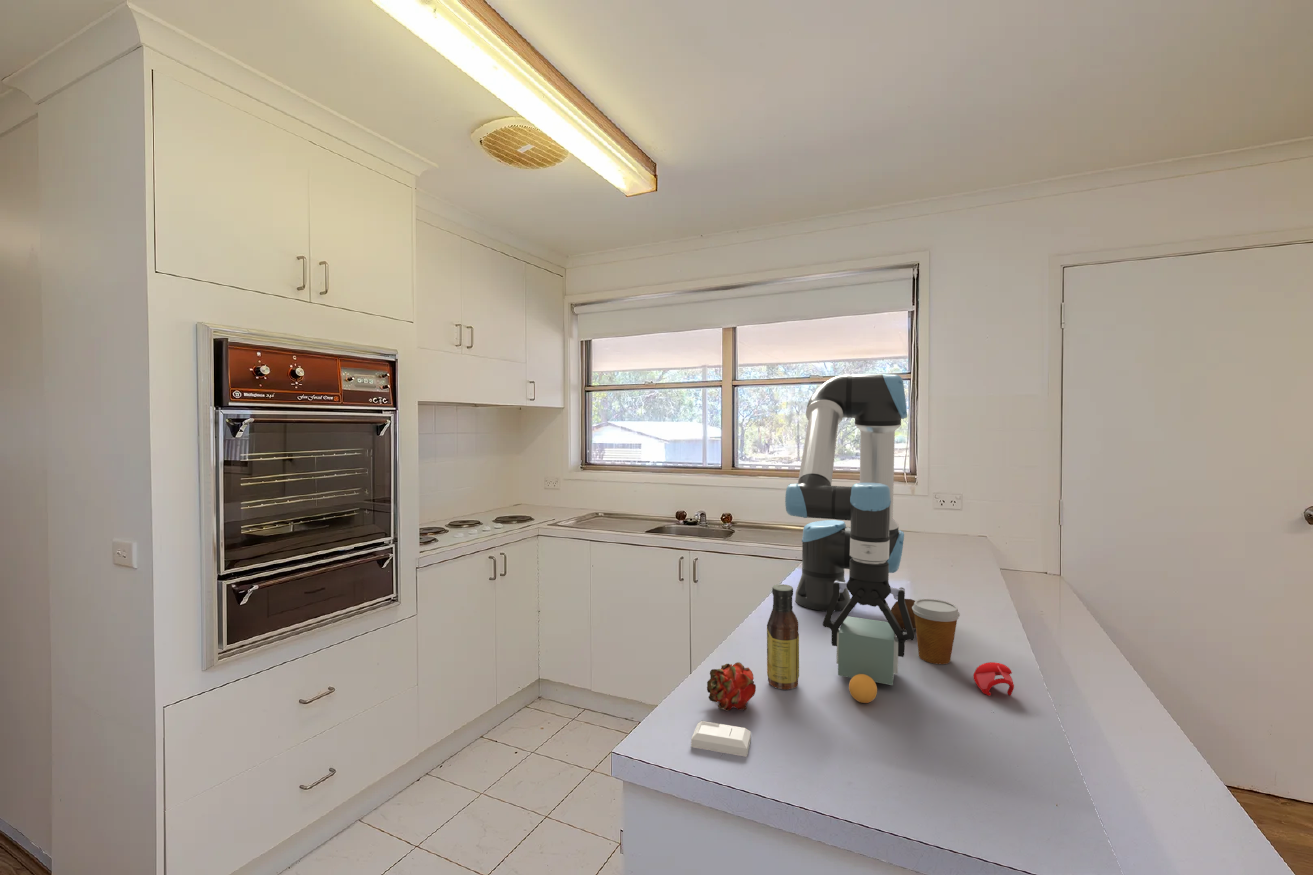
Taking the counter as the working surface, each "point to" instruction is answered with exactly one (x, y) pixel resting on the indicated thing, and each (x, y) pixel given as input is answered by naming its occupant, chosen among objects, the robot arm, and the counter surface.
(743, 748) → the soap bar
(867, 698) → the ball
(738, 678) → the dragon fruit
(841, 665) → the sage green cube
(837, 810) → the counter surface
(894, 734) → the counter surface
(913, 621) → the potato
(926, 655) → the disposable coffee cup
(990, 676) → the red curved piece
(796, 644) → the sauce bottle
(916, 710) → the counter surface
